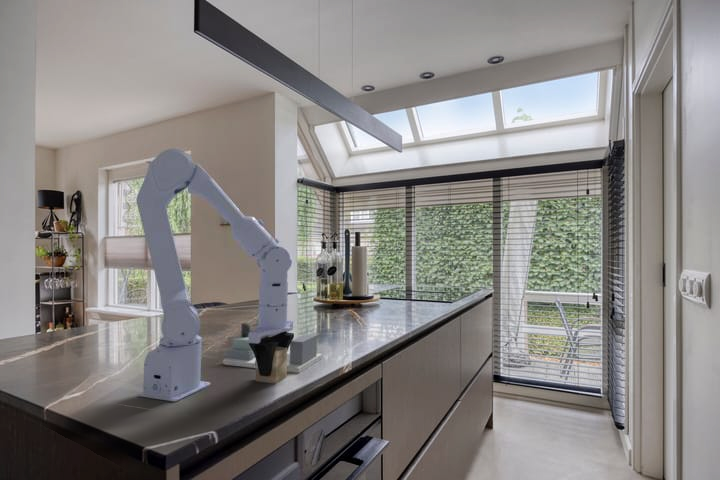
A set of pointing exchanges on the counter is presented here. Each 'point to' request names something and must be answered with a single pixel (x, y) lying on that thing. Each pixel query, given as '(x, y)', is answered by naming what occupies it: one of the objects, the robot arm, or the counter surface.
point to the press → (297, 357)
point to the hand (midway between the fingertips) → (271, 371)
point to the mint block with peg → (243, 339)
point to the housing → (275, 367)
